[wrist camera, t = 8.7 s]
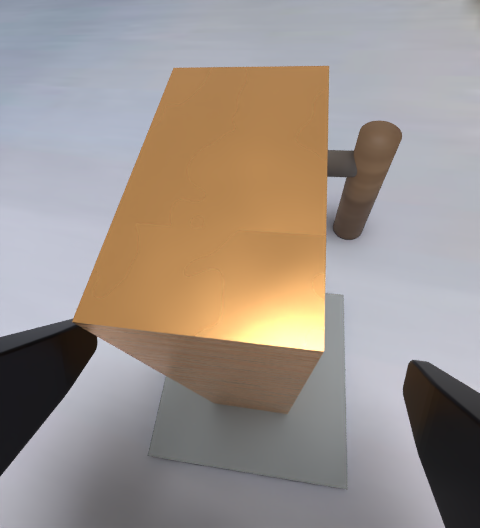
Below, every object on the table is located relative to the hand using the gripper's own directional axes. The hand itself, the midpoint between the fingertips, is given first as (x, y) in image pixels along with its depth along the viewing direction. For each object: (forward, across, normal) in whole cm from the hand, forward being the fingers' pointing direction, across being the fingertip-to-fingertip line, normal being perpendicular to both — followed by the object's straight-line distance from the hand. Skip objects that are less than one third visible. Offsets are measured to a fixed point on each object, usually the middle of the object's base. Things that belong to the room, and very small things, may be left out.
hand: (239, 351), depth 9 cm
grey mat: (+8, 0, +6) cm, 10 cm away
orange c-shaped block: (+9, 0, +5) cm, 10 cm away
